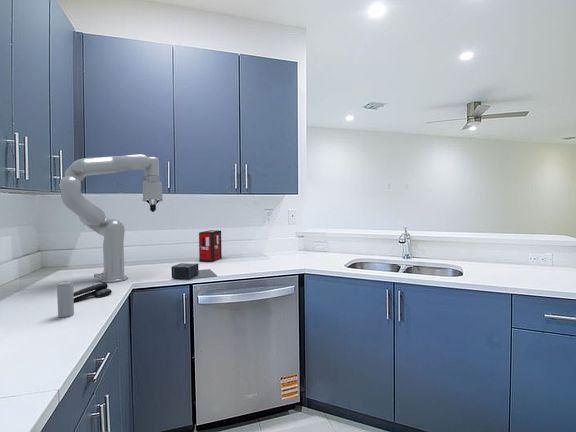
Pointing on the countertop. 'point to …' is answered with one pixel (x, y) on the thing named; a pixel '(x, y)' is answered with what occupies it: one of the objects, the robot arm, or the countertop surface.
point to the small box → (184, 270)
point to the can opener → (99, 291)
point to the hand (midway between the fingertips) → (153, 211)
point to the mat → (203, 274)
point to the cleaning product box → (210, 246)
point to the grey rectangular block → (65, 299)
